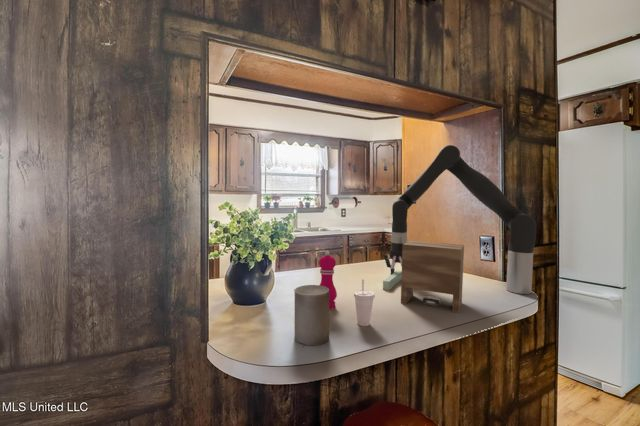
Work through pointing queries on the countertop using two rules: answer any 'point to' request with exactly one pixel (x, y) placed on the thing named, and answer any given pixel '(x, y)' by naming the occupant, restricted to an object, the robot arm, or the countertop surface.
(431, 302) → the steel puck
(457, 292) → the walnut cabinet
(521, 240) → the robot arm
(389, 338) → the countertop surface
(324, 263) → the pepper mill
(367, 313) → the smoothie
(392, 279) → the sage stick
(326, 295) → the pillar candle
